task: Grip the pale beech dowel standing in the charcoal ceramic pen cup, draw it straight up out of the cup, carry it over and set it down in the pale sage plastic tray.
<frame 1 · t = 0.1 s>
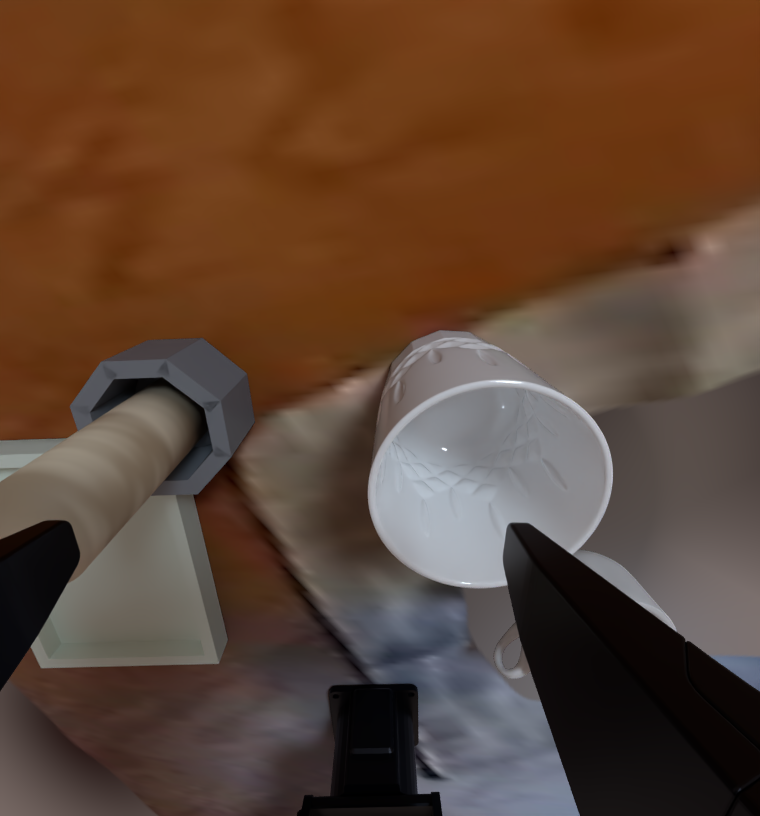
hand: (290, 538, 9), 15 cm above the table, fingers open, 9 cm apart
pin: (185, 404, 23), resting on pen cup
tray: (112, 551, 27), on the table
white cup: (445, 389, 23), on the table
pen cup: (188, 400, 23), on the table
teacup: (547, 584, 28), on the table
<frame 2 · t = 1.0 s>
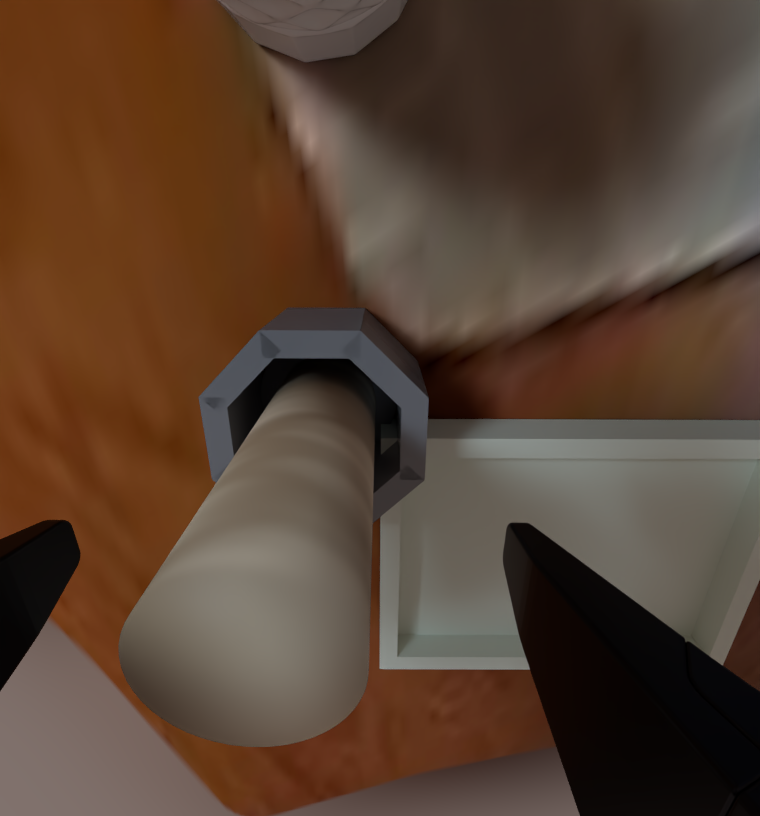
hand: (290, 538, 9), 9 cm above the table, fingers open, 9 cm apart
pin: (328, 399, 16), resting on pen cup
tray: (555, 540, 20), on the table
pen cup: (330, 395, 17), on the table
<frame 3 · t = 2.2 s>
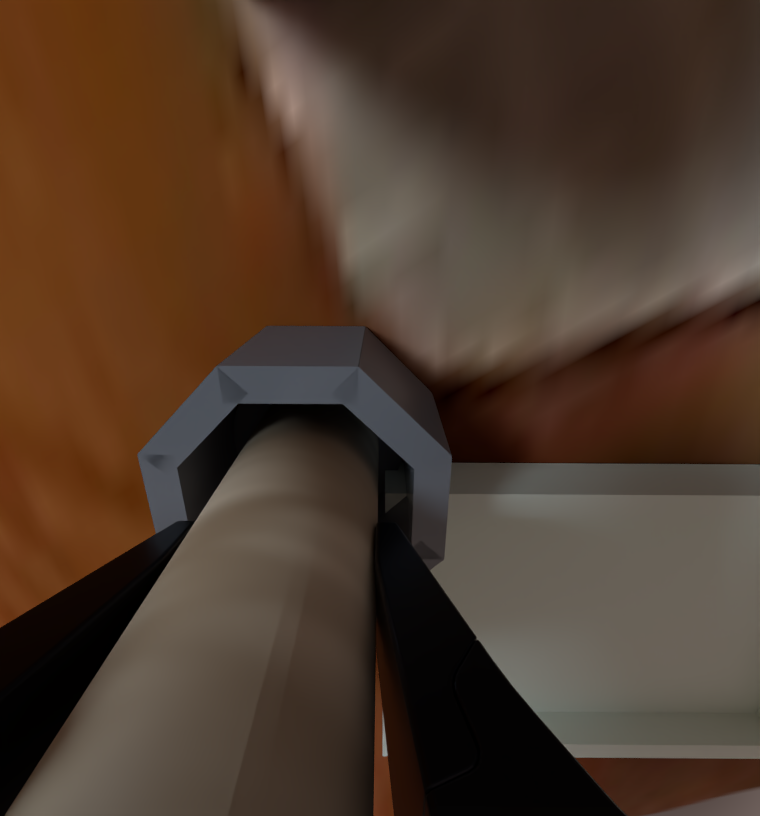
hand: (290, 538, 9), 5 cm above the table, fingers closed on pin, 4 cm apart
pin: (319, 441, 13), resting on pen cup, touching gripper
tray: (596, 604, 16), on the table
pen cup: (321, 434, 14), on the table
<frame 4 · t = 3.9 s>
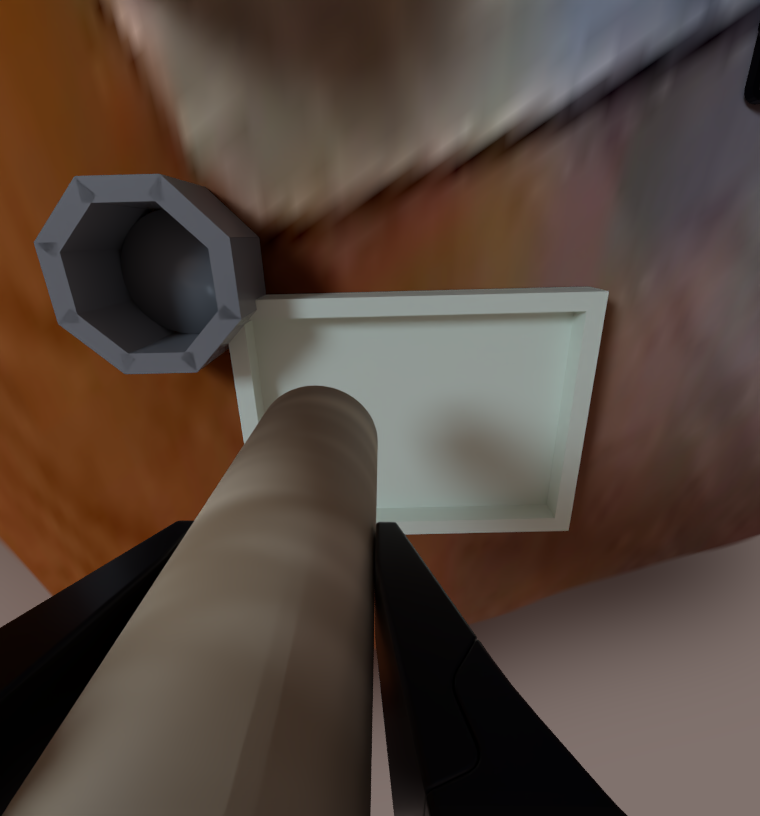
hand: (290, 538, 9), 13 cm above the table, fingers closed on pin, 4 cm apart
pin: (318, 441, 13), point 8 cm above the table, touching gripper
tray: (411, 413, 22), on the table
pen cup: (187, 273, 19), on the table
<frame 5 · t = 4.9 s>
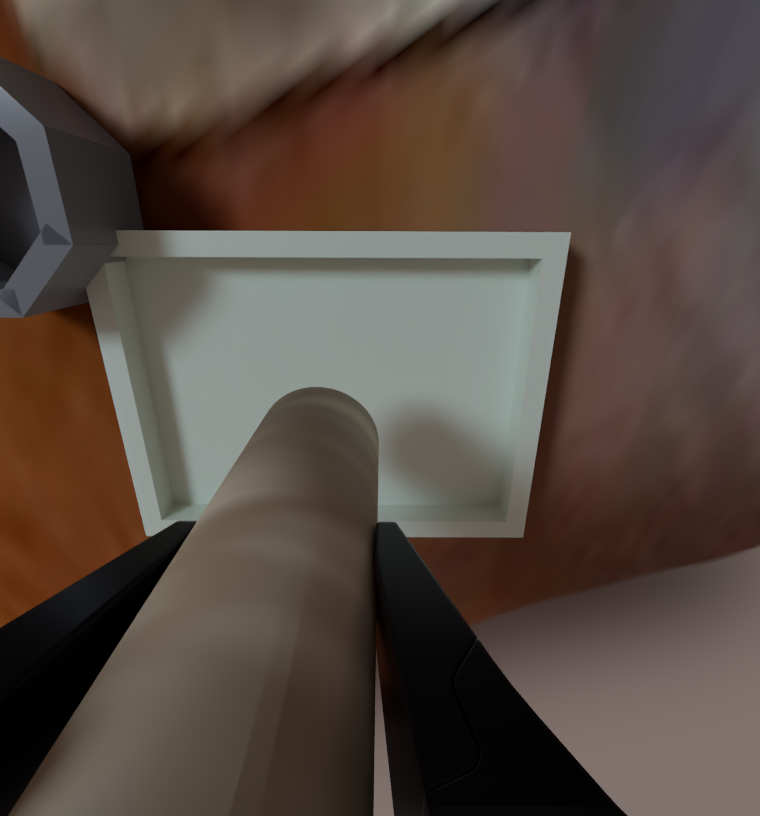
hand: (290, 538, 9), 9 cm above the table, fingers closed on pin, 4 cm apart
pin: (319, 442, 13), point 5 cm above the table, touching gripper
tray: (333, 389, 18), on the table
pen cup: (41, 199, 15), on the table
when the fingers open (6 cm above the table, at t = 5.8 s): pin stays where it is, resting on tray.
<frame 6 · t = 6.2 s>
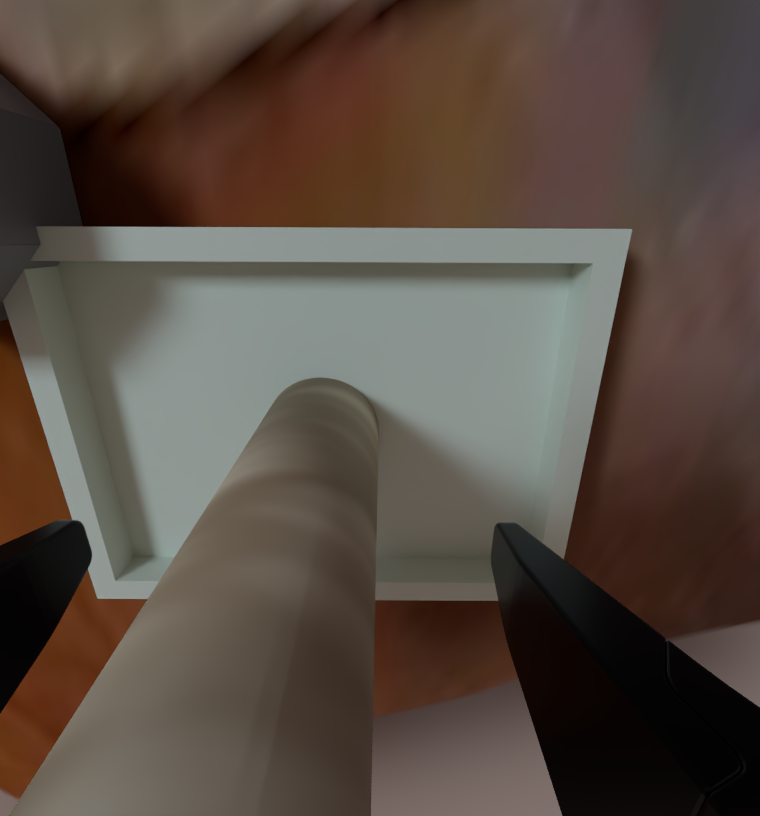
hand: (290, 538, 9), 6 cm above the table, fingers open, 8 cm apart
pin: (323, 430, 14), point 1 cm above the table, touching tray
tray: (324, 422, 14), on the table
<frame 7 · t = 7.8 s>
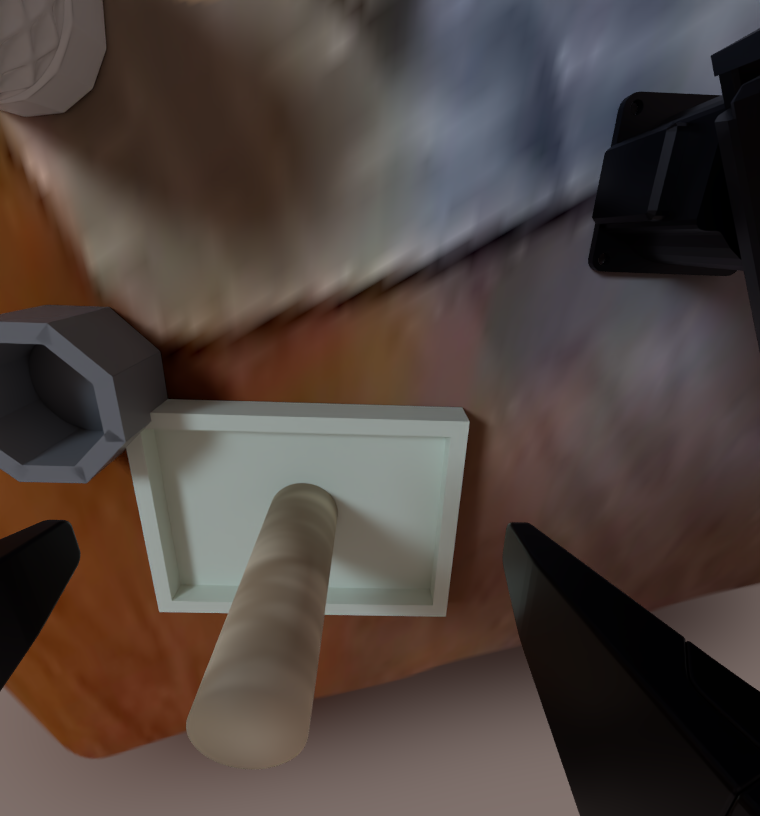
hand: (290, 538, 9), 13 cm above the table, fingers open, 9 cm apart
pin: (304, 512, 23), point 1 cm above the table, touching tray
tray: (305, 505, 24), on the table
white cup: (18, 12, 16), on the table
pen cup: (93, 377, 21), on the table
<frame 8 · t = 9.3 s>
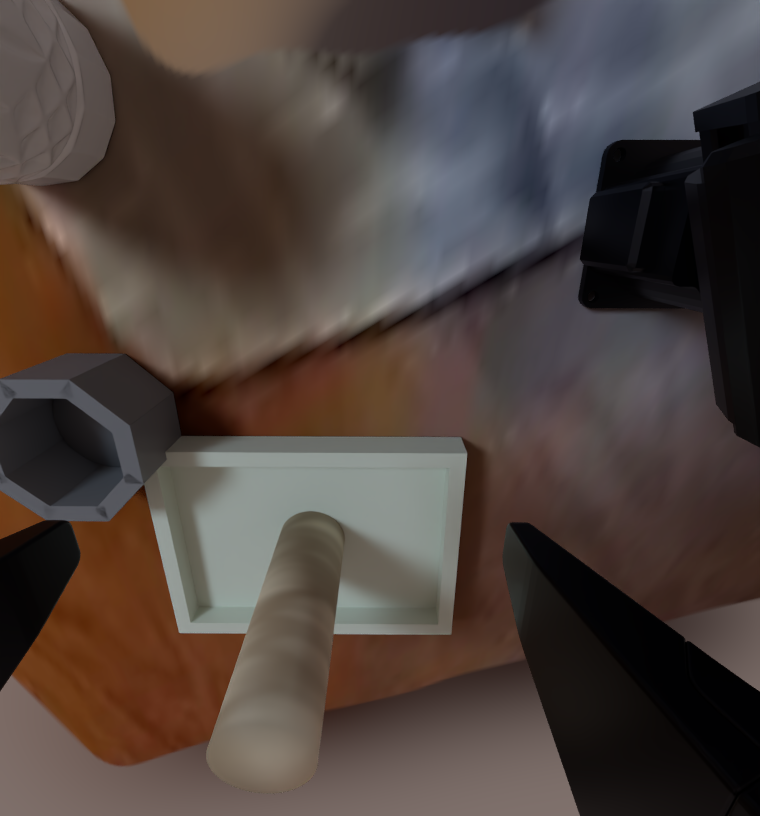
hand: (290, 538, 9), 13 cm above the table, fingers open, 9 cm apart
pin: (312, 537, 24), point 1 cm above the table, touching tray
tray: (313, 530, 25), on the table
white cup: (33, 91, 17), on the table
pen cup: (112, 418, 22), on the table
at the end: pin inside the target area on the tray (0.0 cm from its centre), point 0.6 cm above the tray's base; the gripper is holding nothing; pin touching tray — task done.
